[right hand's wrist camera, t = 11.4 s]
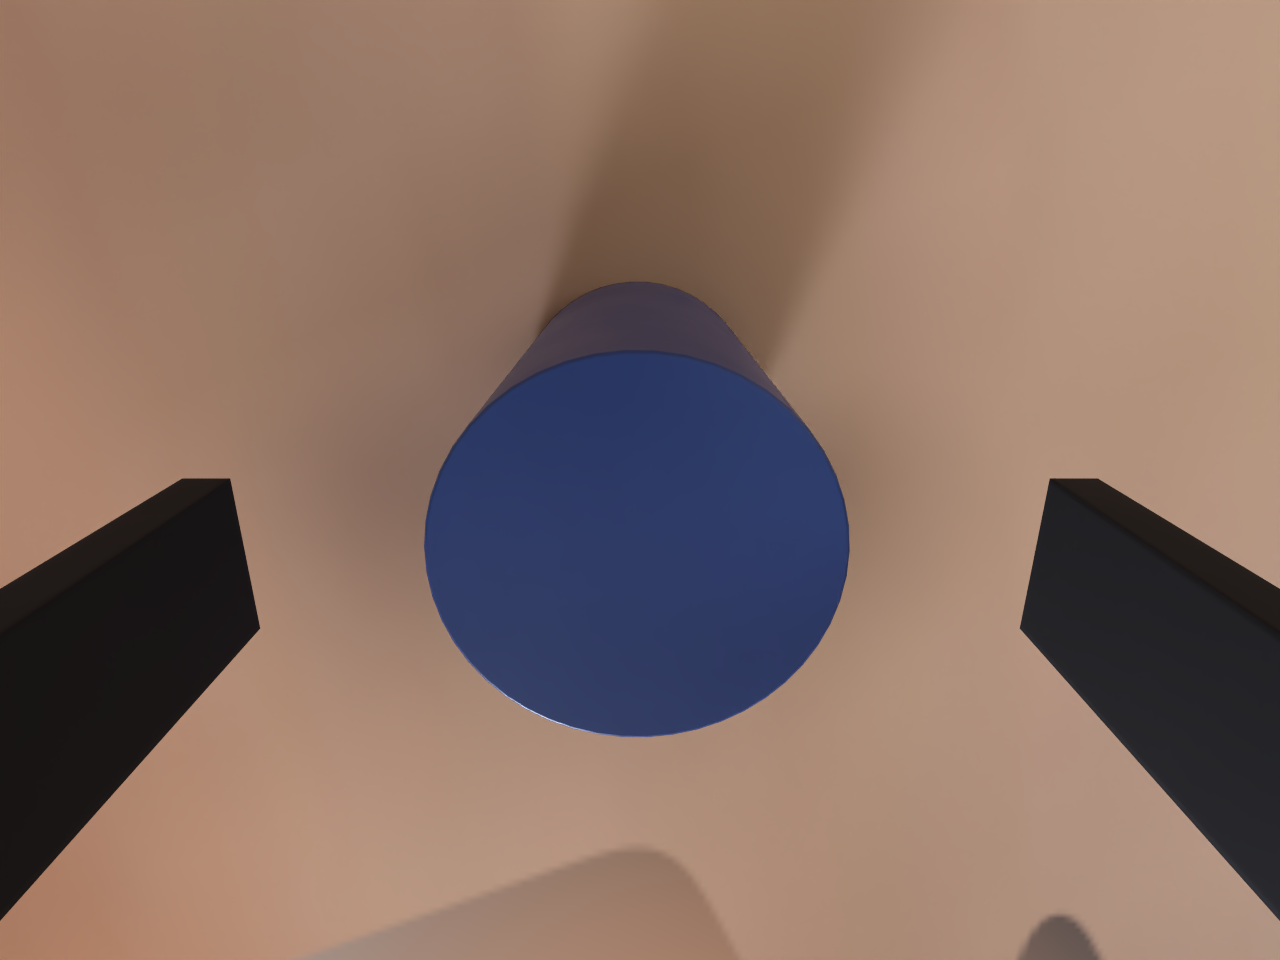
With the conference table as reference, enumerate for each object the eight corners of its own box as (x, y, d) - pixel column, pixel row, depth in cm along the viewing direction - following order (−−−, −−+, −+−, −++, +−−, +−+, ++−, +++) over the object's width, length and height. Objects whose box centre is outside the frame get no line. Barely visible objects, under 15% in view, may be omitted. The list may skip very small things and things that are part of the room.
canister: (776, 309, 23) (908, 402, 12) (719, 522, 25) (784, 767, 14) (544, 258, 22) (451, 305, 11) (507, 480, 24) (401, 701, 13)
